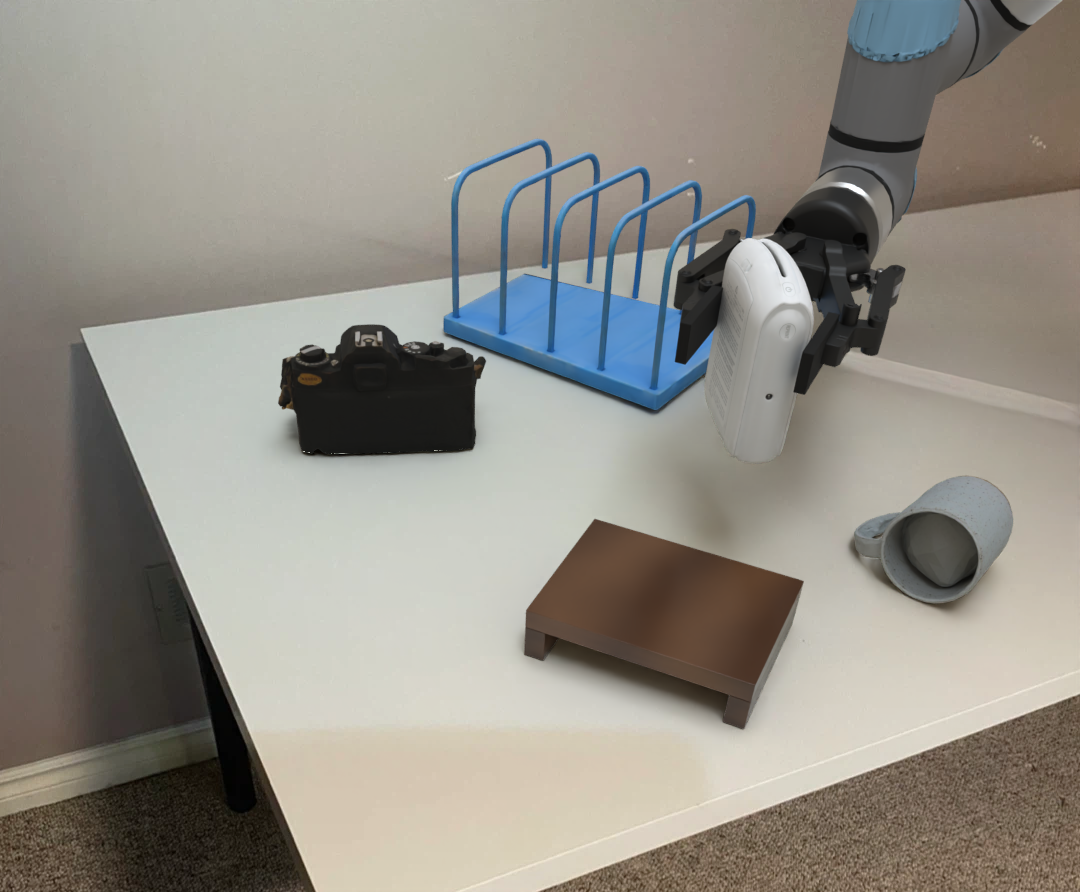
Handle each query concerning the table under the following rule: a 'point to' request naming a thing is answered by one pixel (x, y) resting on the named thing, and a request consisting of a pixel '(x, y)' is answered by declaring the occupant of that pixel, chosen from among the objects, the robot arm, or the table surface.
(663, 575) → the shelf
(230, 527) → the table surface
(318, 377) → the film camera
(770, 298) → the photo printer
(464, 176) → the file sorter
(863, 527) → the ceramic mug
